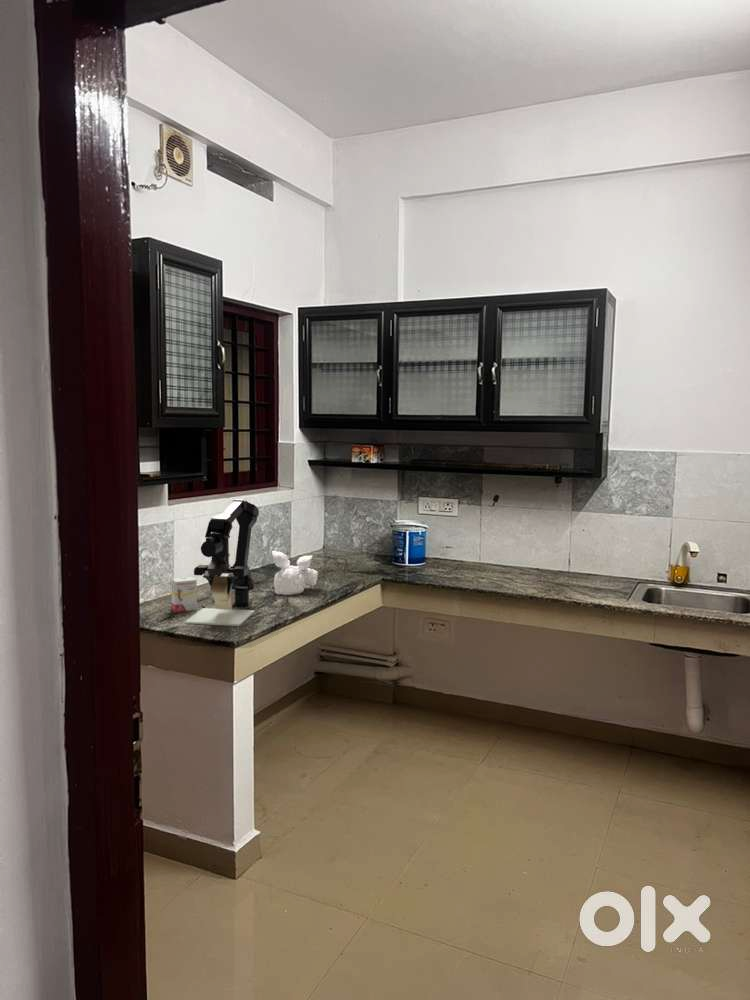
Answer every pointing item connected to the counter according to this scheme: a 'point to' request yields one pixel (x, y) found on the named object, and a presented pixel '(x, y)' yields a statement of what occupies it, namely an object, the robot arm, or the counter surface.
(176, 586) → the ink box
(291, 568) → the white tied bag bundle
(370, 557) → the counter surface
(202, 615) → the sage mat
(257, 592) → the counter surface
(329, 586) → the counter surface
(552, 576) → the counter surface
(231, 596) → the birch block
